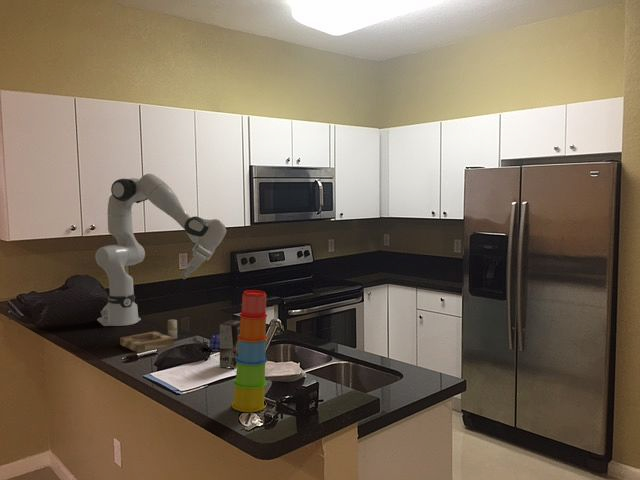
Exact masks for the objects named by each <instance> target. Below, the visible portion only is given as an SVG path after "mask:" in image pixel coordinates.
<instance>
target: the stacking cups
mask: <svg viewBox="0 0 640 480" xmlns="http://www.w3.org/2000/svg"><path fill="white" fill-rule="evenodd" d="M241 299H242V300H241V312H240V314H239V317H240V320H241V321H240V335H239V336H238V339H239V347H238V357H237V358H236V362H237V368H236V374H235V379H234V380H233V385H234V399H233V401H232V403H231V407H232V408H233V409H234V410H236V411H238V412H242V413H255V412H260V411H262V410H265V409H266V407H267V406H266V405H267V403H266V405H265V406H264V401H265V396H266V395H265V393H266V391H265V389H266V388H265V387H266V386H267V384H268V381H267V380H266V363H267V361H268V359H267V358H266V342H267V340H268V336H267V334H266V329H267V318H268V314H267V294H266V292H265V291H263V290H257V289H249V290H244V292H243V293H242V298H241Z"/></svg>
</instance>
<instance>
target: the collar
mask: <svg viewBox="0 0 640 480" xmlns="http://www.w3.org/2000/svg"><path fill="white" fill-rule="evenodd" d="M119 343H120V346H122V347H124V348H127V349H129V350H131V351H133V352H136V353H138V354H139V353H142V352H143V353H144V352H148V351H153V350H156V349H157V350H159V349H162V348H166V347H167V348H168V347H171V346H175V339H174V338H172V337H170V336H168V334H167V335H166V334H163V333H161V332H159V331H157V330H155V331H149V332H143V333H137V334H133V335H129V336H122V337H120V339H119Z"/></svg>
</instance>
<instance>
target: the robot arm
mask: <svg viewBox="0 0 640 480" xmlns="http://www.w3.org/2000/svg"><path fill="white" fill-rule="evenodd" d="M110 190H111V191H110V192H111V195H110V196H109V197H108V203H107V231H108V233H109V234H110V235H111V236H113V237H114V238H115V240H116V242H117V244H108V245H104V246H102V247H99V248H98V249H97V250H96V252H95V256H94V257H95V261H96V264H97V266H98V267H100V268H101V269H102V270H104V271H105V273H106V276H107V279H108V285H109V286H108V289H109V295H108V297H107V299H108V300H107V304H106V305H105V306H104V307H103V308H102V310H100V315H101V317H98V318H97V322H98V323H100V324H101V325H102V326H104V327H110V326H111V327H119V326H120V327H121V326H123V327H124V326H130V325H134V324H136V323H138V322H140V321H141V320H142V319H141V317H139V312H138V310H139V309H138V304H137V303H135V299H136V296H135V293H134V292H135V291H134V279H133V277H132V276H131V275H130V274H128V273H127V271H126V270H125V267H129V266H135V265H137V264H140V263H142V262H144V259H145V257H146V252H145V249H144V247H143V245H141V244H140V243H139V242H138V241H137V239H136V237H135V233H134V230H133V218H132V217H133V216H132V215H133V214H132V212H133V211H132V207H133V205H134V203H135V204H139V203H142V202H144V201H147V200H148V201H149V202H150V203H152V204H153V205H154V206H155V207H156V208H158V210H161V211H162V212H164V213H165V214H167V216H168V217H171V219H173V220H174V221H176V222H177V223H178V225H179V226H180V227H181V228H182V229H183V230H184V231H185V233H186V234H187V236H188V238H189V240H190V241H191V243H192V244H193V245H194V246H193V248H192V249H191V251H192V253H191V254H192V255H191V256H193V257H192V258H191V259H190V261H189V262H188V263H187V265H186V267H185V269H186V270H185V271H184V273H183V275H182V279H183V280H186V279H188V278H189V277H190V275H191V274H192V273H193V272H195V271H196V270H197V269H198V268H200V266H201V265H202V264H203V263H205V261H210V259H211V258H212V256H213V255H214V253H215V251H216V249H217V247H218V246H219V245H220V244H221V243H222V241H223V240H224V238H225V236H226V233H227V227H226V226H225V224H223V222H222V221H221V220H219V219H217V218H215V219H208V218H207V219H206V218H203V217H200V216H191V215H190V214H189V213H187V212H186V210H185V209H184V207H183V206H182V204H181V201H180V200H179V198H178V196H177V195H176V193H175V192H174V191H173V189H172V188H171V187H170V186H169V185H168V184H167V183H166V182H165V181H164V180H162V179H161V178H160V177H158V176H156V175H155V174H153V173H146V174H144V175H142V176H141V177H140V178H132V177H131V178H120V179H116V180H115V181H113V183H112V184H111V189H110Z"/></svg>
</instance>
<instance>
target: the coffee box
mask: <svg viewBox="0 0 640 480" xmlns="http://www.w3.org/2000/svg"><path fill="white" fill-rule="evenodd" d="M240 321H241V319H240V320H239V319H230V320H227V321H225V322H223V323H220V324H219V335H220V350H219V367H220V366H221V367H230V368H235V369H237V368H236V367H237V362H236V358H237V357H238V347H239V339H238V336H239V335H240ZM221 367H220V368H221Z"/></svg>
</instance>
